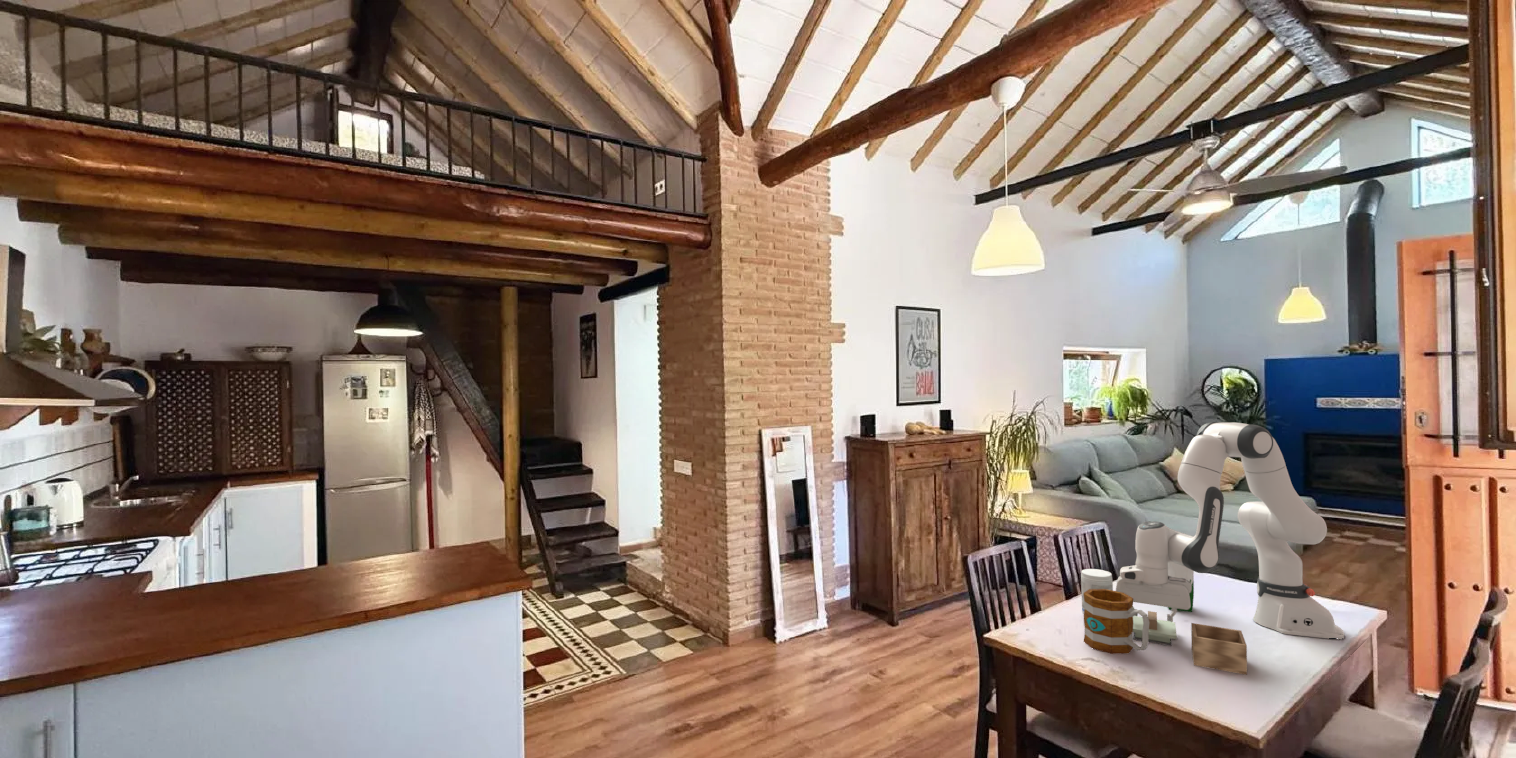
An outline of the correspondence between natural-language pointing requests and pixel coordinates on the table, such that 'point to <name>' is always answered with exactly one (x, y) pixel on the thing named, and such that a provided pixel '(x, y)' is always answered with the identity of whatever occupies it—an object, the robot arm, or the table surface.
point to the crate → (1219, 648)
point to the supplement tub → (1095, 581)
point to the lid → (1155, 628)
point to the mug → (1111, 622)
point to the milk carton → (1182, 572)
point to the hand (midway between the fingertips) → (1152, 618)
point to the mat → (1154, 641)
